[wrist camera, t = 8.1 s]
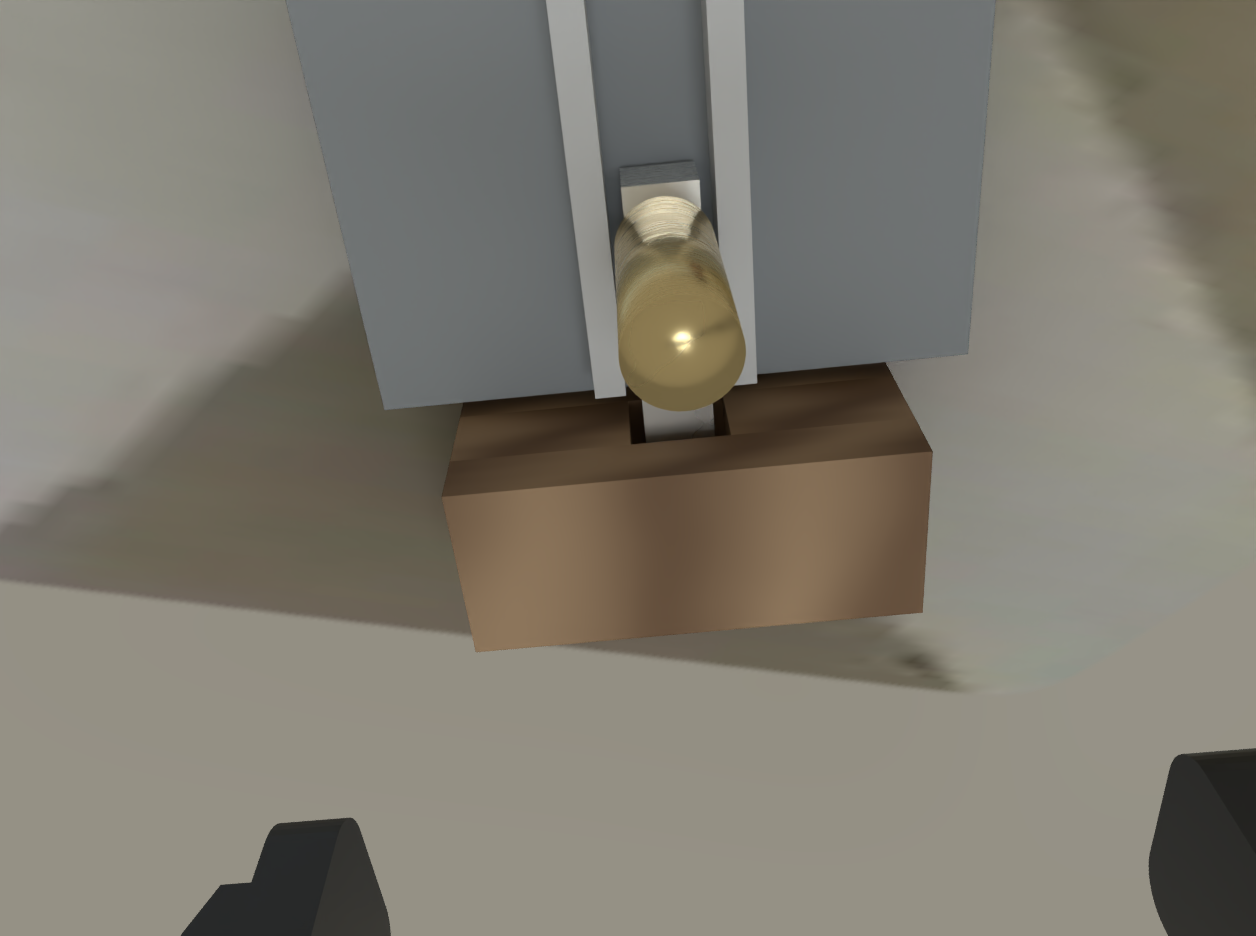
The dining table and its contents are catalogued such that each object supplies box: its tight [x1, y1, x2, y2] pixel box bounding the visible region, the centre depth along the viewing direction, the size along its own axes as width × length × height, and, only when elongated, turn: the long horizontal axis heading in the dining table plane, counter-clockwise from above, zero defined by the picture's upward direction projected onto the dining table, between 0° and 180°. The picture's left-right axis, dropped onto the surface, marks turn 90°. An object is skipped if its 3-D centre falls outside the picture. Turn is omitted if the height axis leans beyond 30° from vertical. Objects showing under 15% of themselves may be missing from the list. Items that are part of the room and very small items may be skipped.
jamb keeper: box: [442, 362, 933, 652], centre depth 30 cm, size 12×5×6 cm, turn 95°
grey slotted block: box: [286, 0, 996, 410], centre depth 26 cm, size 16×14×4 cm
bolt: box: [614, 161, 746, 443], centre depth 25 cm, size 2×9×8 cm, turn 5°
